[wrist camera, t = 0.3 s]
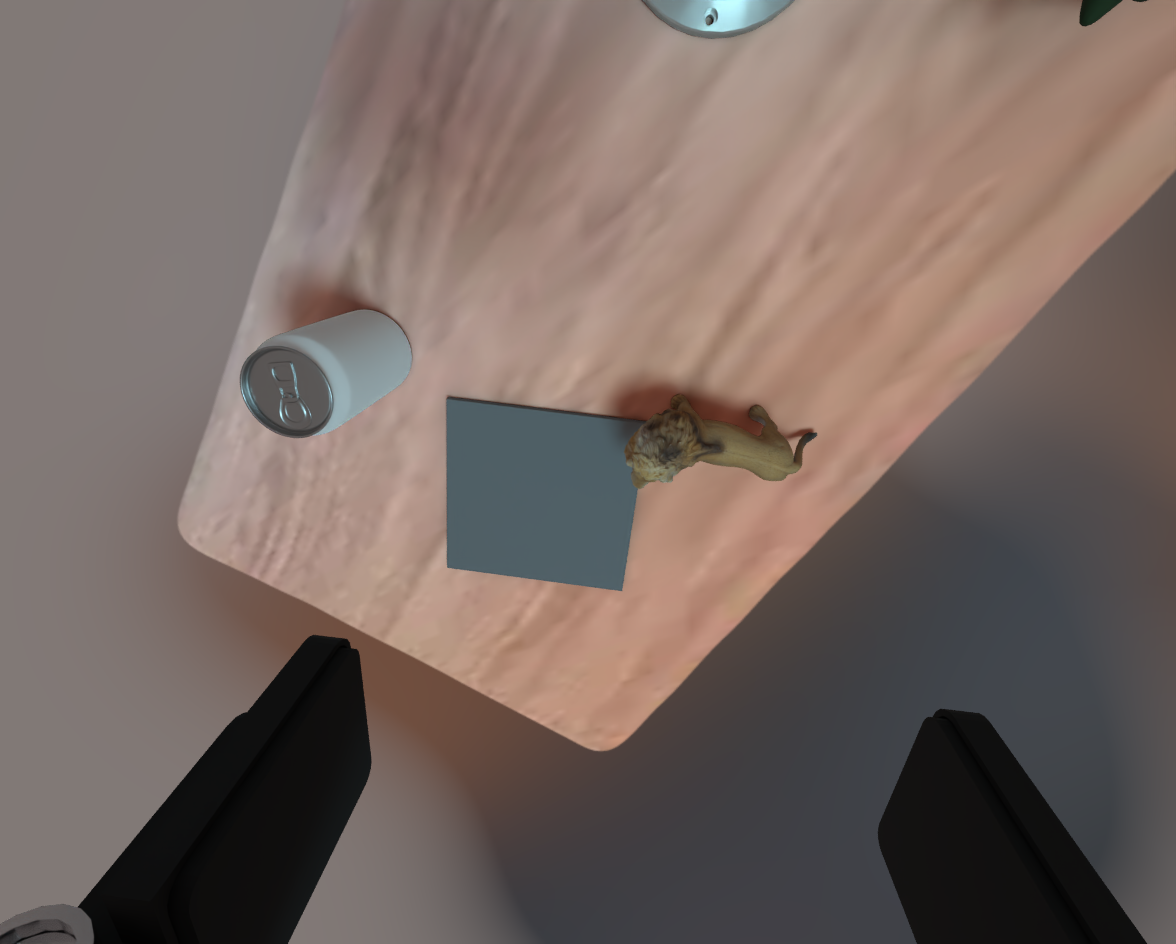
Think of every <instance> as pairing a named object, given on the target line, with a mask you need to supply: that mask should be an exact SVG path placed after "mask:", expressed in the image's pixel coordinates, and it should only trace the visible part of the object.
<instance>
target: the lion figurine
mask: <svg viewBox="0 0 1176 944" xmlns="http://www.w3.org/2000/svg"><path fill="white" fill-rule="evenodd" d="M671 407H672V408H674V409H676V410H672V409H667V410H665V411H664V412H663V413H662V414H659V413H657V414H655V415H653V416H652V418H651V419H649V420H648V421H647V422H646V423H645V424H643V425H642V426H641V427H640V429H638V431H637V432H635V433H634V435H633V436H632V437H631V438H630V439H629V441H628V444H627V445H626V447H625V450H624V454H625V457H626V464H627V466H630V467H632V469H633V471H632V473H631V480H632V482H633V485H634V486H635V487H636V488H638V489H641V488H643V487H644V486H645V485H647V484H648V483H649V482H655V481H657V480H659V481H660V482H663V483H664V482H672V481H673V476H675V475H676V474H678V473H679V471H680V470H682V469H684V468H687V467H688V466H689V467H692V466H693V465H694V464H695V463H696V462H699V461H703V462H706V463H710V464H714V465H720V466H728V467H739V468H744V469H747V470H749V471H751V472H753V473H754V474H756V475H757V476H758V477H760V478H761V479H763V480H768V481H782V480H784V479H785V478H786V476H787V475H788V474H793V473H796V472H797V471H798V470H799V469H800V468H801V466H802V453H803V448H804V446H805V445H806V443H808V442H809V441H811V440H812V439H813V438H815V437H816V436H817V433H806V434H805V435H804V436H803V437H802V438H801V439H800V440H799V442H798V445H797V447H796V451H795V455H793V452H792V449H791V447H790V445H789V443H788V441H787V440H786V439H785V437H784V436H783V435H781V434H780V433H779V432H778V431H777V426H776V424H775V423H774V422H773V421H772V420H771V419H770V417H769V416H768V414H767V413H766V411H765V410H764V409H763V408H762V407H761V406H758V405H756V406H753V407H752V408H751V410H750V412H749V417H750V418H751V419H752V420H754V421H757V422H760V423H762V424H763V425H764V426H765V427H764V428H763V429H762V433H761V436H755V435H753V434H751V433H749V432H747V431H745V430H744V429H742V428H740V427H738V426H736V425H733V424H729V423H726V422H721V421H714V420H702V419H701V418H700V417H699V415H698V414H697V413H696V412H695V411H694V410H693V409H692V408H691V406H690V404H689V402H688V401H687V399H686V398H685V397H684V396H683V395H680V394H678V395H676V396H674V397H673V398H672V400H671Z"/></svg>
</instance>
